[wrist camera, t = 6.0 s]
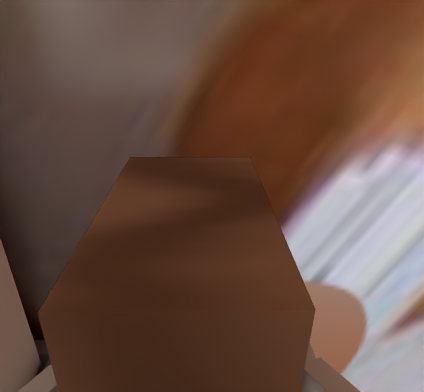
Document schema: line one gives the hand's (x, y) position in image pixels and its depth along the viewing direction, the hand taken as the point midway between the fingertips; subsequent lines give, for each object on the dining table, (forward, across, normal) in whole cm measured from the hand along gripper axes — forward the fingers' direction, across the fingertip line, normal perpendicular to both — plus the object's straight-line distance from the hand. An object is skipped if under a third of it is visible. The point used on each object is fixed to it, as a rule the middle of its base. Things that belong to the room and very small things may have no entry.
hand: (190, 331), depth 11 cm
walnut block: (+3, 0, 0) cm, 3 cm away
